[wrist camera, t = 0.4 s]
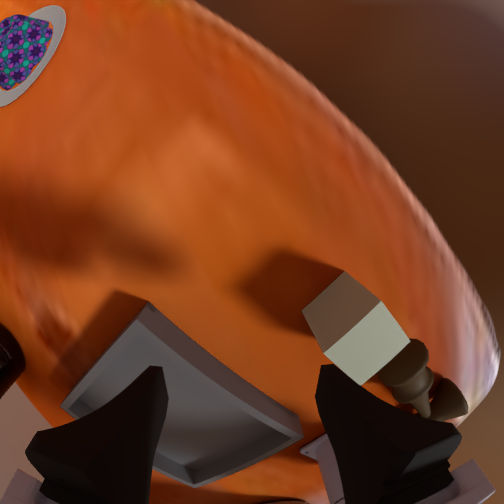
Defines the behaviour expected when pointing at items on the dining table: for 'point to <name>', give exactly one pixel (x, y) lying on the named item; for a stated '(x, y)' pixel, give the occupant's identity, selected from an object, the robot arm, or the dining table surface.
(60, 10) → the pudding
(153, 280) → the dining table surface
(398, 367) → the kendama
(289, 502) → the canister
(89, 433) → the robot arm
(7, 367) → the supplement bottle
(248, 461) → the tray
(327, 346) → the beige block
